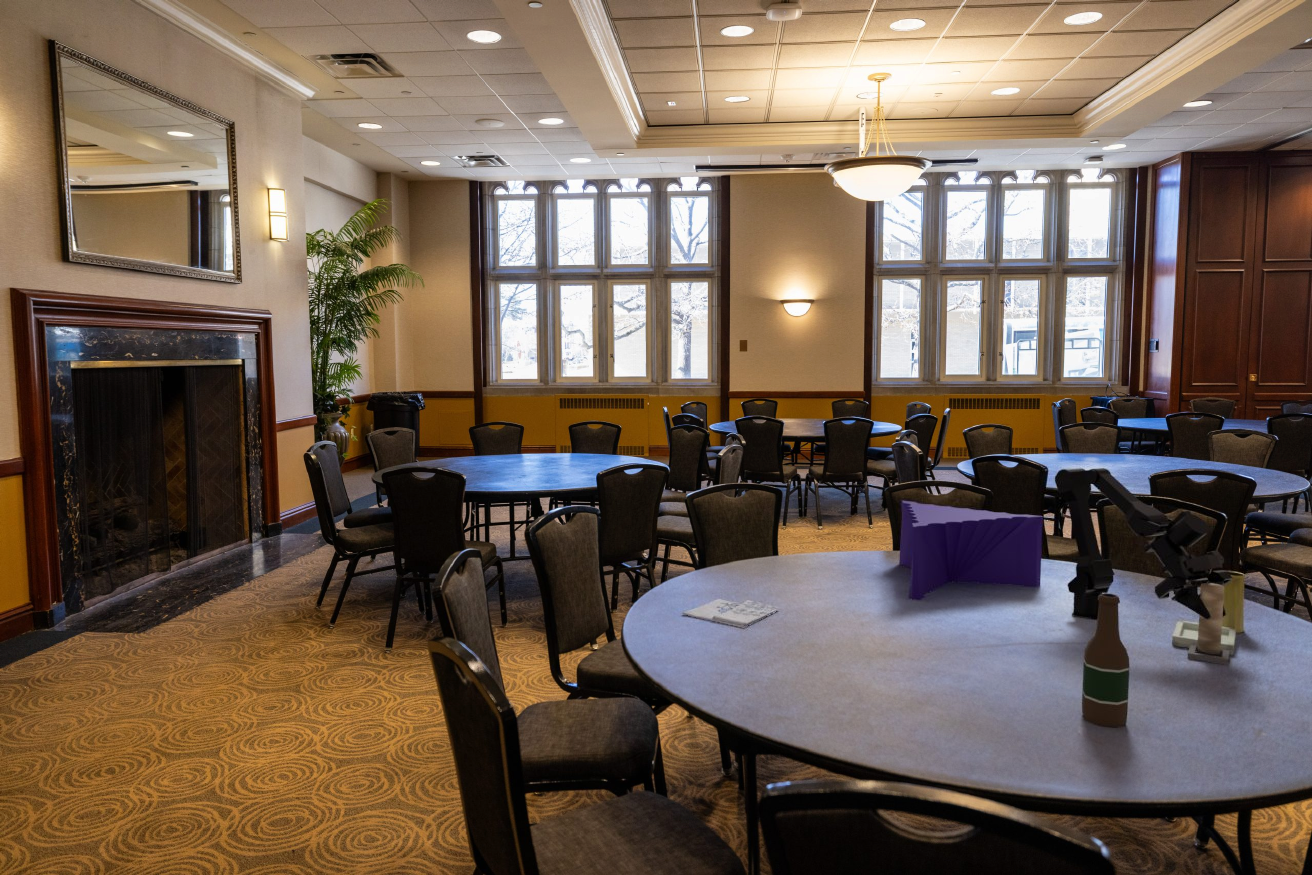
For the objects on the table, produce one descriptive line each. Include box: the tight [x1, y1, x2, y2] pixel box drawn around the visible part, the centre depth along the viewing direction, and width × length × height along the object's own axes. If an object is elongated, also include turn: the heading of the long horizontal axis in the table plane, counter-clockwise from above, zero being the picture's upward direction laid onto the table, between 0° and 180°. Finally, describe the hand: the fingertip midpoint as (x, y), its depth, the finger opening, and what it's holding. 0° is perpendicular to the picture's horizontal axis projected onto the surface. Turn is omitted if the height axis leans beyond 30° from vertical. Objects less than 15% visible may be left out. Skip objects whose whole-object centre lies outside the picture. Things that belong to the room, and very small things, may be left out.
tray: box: [1171, 619, 1237, 656], centre depth 204 cm, size 12×15×2 cm
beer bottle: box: [1081, 592, 1130, 728], centre depth 160 cm, size 8×8×24 cm
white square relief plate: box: [682, 598, 781, 629], centre depth 230 cm, size 19×20×2 cm
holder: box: [1187, 644, 1230, 666], centre depth 194 cm, size 8×8×1 cm
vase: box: [1222, 570, 1246, 634], centre depth 212 cm, size 6×6×14 cm
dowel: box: [1197, 583, 1224, 654], centre depth 193 cm, size 4×4×15 cm
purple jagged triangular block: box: [898, 500, 1044, 601], centre depth 255 cm, size 40×45×21 cm
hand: (1216, 617), depth 192 cm, fingers closed on dowel, 4 cm apart
